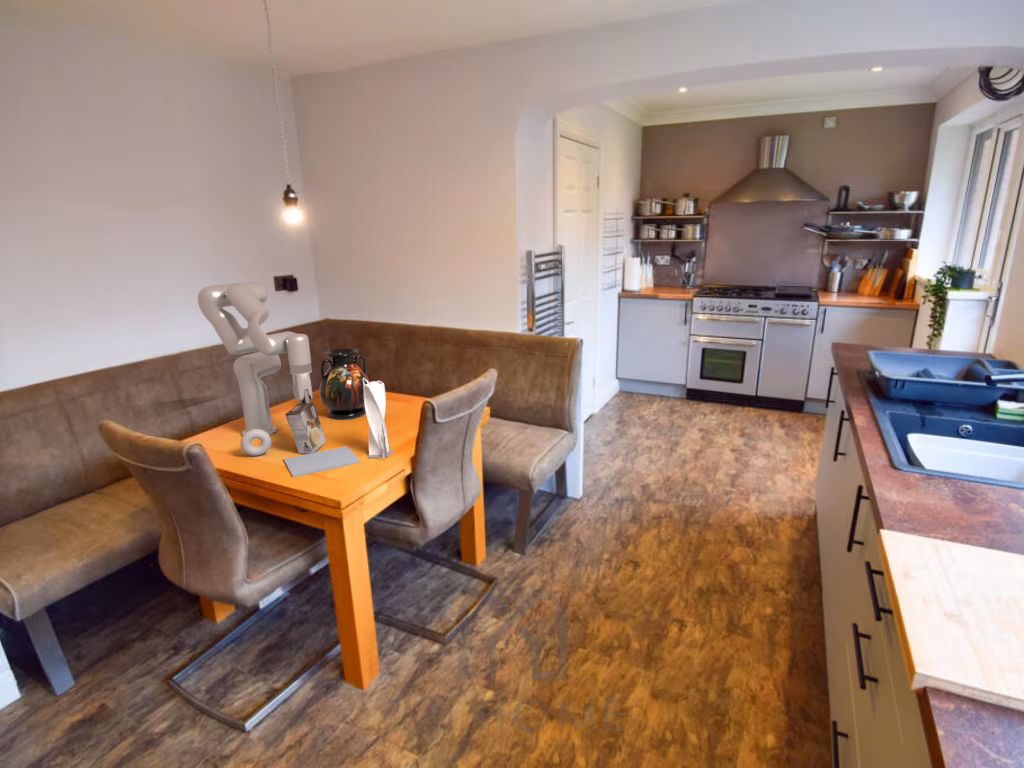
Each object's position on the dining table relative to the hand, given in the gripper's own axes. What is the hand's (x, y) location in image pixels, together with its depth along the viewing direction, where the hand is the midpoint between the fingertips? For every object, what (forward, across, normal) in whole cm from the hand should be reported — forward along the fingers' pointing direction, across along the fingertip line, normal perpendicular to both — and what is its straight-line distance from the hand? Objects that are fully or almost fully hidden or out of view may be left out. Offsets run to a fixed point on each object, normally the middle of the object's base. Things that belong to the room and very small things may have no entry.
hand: (306, 416), depth 205 cm
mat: (+11, +19, 0) cm, 22 cm away
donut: (+11, +1, -18) cm, 21 cm away
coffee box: (+10, +6, 0) cm, 12 cm away
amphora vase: (+11, -27, +22) cm, 37 cm away
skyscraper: (+11, +24, +19) cm, 32 cm away
